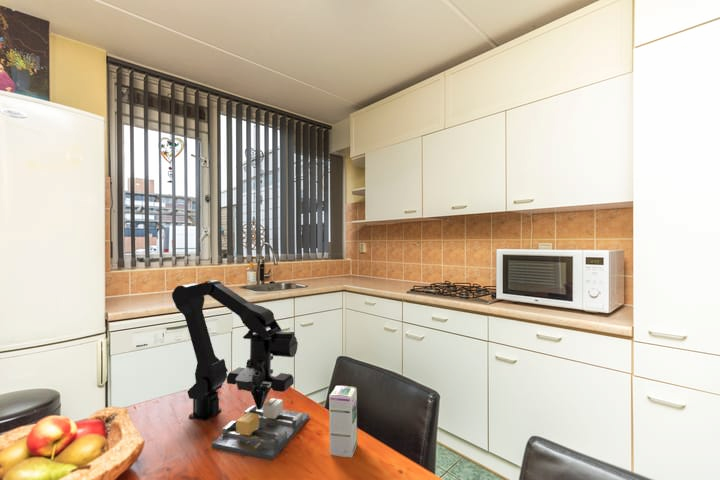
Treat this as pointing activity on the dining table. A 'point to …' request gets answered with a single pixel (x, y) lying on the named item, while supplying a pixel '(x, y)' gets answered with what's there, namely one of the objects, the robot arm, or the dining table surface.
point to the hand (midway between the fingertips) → (259, 408)
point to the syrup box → (343, 421)
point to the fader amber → (247, 423)
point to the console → (262, 434)
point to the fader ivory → (272, 408)
